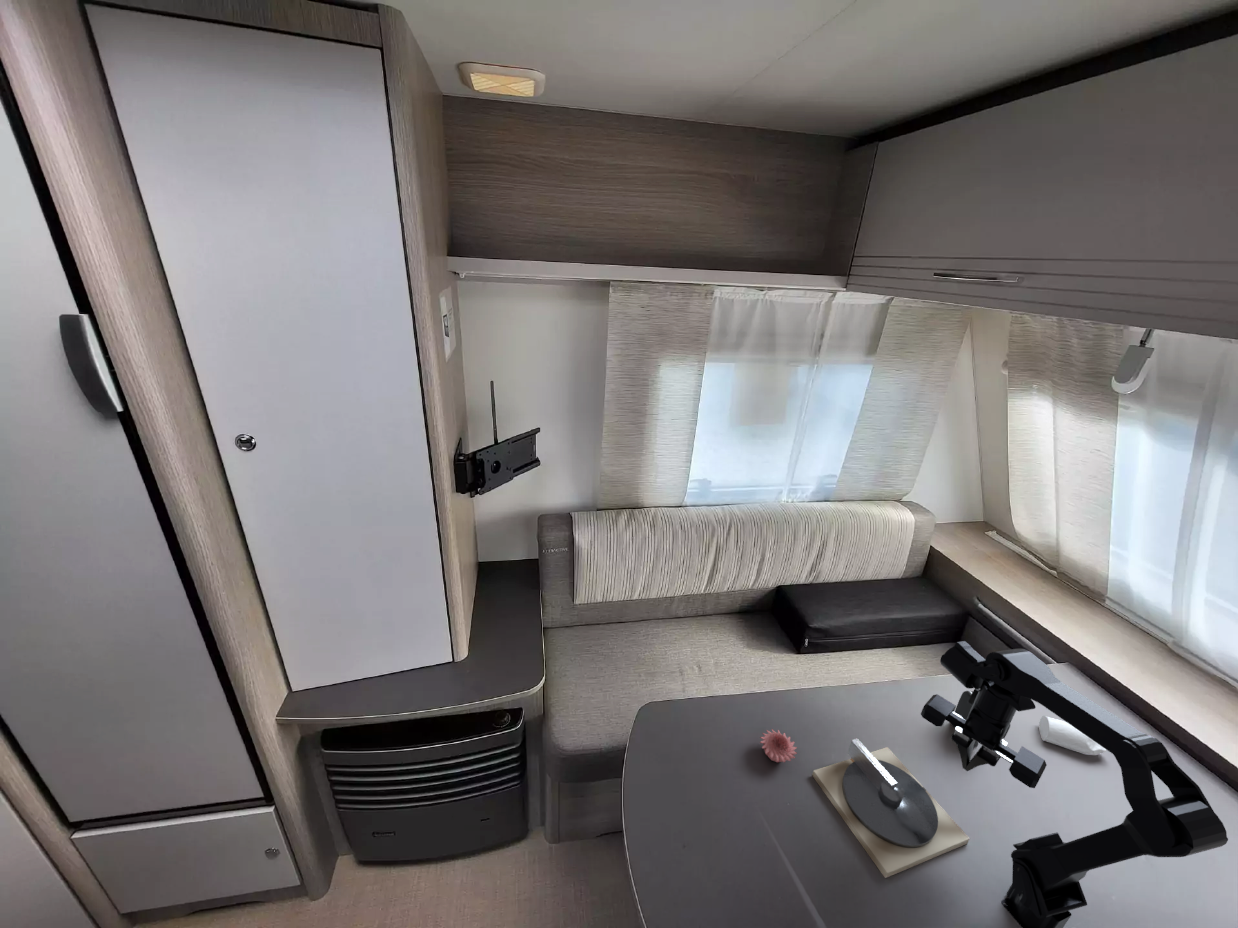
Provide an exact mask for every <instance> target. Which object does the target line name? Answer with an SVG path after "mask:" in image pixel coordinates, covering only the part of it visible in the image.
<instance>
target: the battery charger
mask: <svg viewBox="0 0 1238 928" xmlns="http://www.w3.org/2000/svg"><path fill="white" fill-rule="evenodd" d="M973 691H974V690H973ZM973 691H971V690H965V691H963V692H962V694H961V695H960V697H959V700H958V702H957V704H956V708H955V710H954V712H955V713H956V714H958V715H959V716H961V717H963V718H964V719H967V717H968V715H969V713H970V710H971V708H972V705H971V704H969V703H968V700H969V698H970V696H971V694H972V693H973ZM951 726H952V727H953V729H954V730H955V728H956V726H954V725H953V724H951ZM978 745H979V743H978V742H977V741H975V744H974V747H973V748H976V747H978Z"/></svg>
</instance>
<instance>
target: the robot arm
mask: <svg viewBox="0 0 1238 928" xmlns="http://www.w3.org/2000/svg"><path fill="white" fill-rule="evenodd" d="M939 662H940V665H941V666H942V667H943V668H945V670H946V671H948V672H949V674H951V675H952V676H953V677H954V678H955V679H956V680H957V681H958V682H959V683H961V685H963V687H965V688H966V689H968V690H969V689H971V690H972V689H973V693H972V694H971V696H970V698H969V700H968V703H969V704H971V705H972V708H971V710H970V713H969V715H968V717H967V719H964V718H963V717H961V716H959V715H958V714H956V713H955V710H956V707H957V704H956V705H955V704H954V703H953V702H950V701H949V700H948V699H945V698H944V697H943V696H941V695H939V694H937V693H936V694H933V695H931V697H930V698H929V699H928V700H927V701H926V703H925V704H924V705H923V707H922V709H921V712H920V715H921V718H922V719H924V720H926V721H927V722H928V723H931V724H932V725H933V726H935V727H942V726H944V723H945V721H946V722H948V723H949V724H951V725H952V724H953V725H954V726H956V728H955V729H954V732H953V733H952V735H951V736H950V739H951V741H953V742H954V743H955V744H956V747H957V749H958V750H957V751H959V756H960V760H961V765H962V769H963V770H965V771H966V772H969V771H971V770H973V769H975V768H977V767H979V766H985V765H989V766H990V767H996V766H997V764H998V762H999V761H1000V760H1001V758H1002V759H1003V760H1005V761H1006V762H1008V763H1009V764H1010V766H1009V768H1008V771H1009V773H1010V775H1011V776H1012V777H1013V778H1014V779H1016V780H1018V782H1020V783H1023V784H1024V785H1025V786H1026V787H1028V788H1031V789H1036V787H1037V785H1038V783H1039V781H1040V779H1042V776H1043V773H1044V772H1045V769H1046V768H1047V765H1048V764H1047V762H1046V760H1045V759H1044V758H1042V757H1041V756H1040V755H1038V754H1036V753H1034V752H1032V750H1029V749H1028V748H1026V747H1024V746H1023V745H1021V747H1020V749H1019V750H1018V752H1017V751H1015V750H1013V749H1012V748H1010V747H1008V742H1007V741H1005V740H1004V739H1005V738H1006V737H1007V735H1008V733H1009V730H1010V728H1011V723H1012V721H1013V719H1014V716H1015V714H1016V712H1017V711H1018V712H1023V711H1030V710H1035V709H1036V704H1035V703H1034V702H1036V703H1038V704H1039V705H1041V706H1043V707H1044V708H1045V709H1046V710H1048V711H1050V712H1051V713H1053V714H1054V715H1056V716H1057V717H1059V718H1060V720H1061V719H1062V721H1065V722H1067V723H1069V724H1070V725H1072V726H1073V727H1074V728H1076V729H1077V730H1079V731H1080V732H1082V733H1083V734H1085V735H1086V736H1087V737H1089V738H1090V739H1092V740H1093V741H1095V742H1096V743H1098V744H1099V745H1100V746H1102V747H1103V748H1105V749H1106V750H1107V752H1109V753H1110V754H1112V755H1113V756H1114V758H1115V760H1116V762H1117V764H1118V766H1119V767H1120V770H1121V776H1122V783H1123V790H1124V791H1123V792H1124V796H1125V798H1126V800H1127V802H1128V803H1129V806H1130V808H1131V809H1132V811H1131V812H1130V813H1128V814H1127V815H1125V817H1124V819H1123V821H1122V823H1121V824H1119V825H1115V826H1113V827H1112V826H1111V827H1110V828H1107V829H1103V830H1101V831H1098V832H1095V833H1092V834H1089V835H1085V836H1082V837H1080V838H1077V839H1074V840H1071V841H1068V842H1065V841H1063V840H1062V838H1061V836H1060V833H1059V832H1054V833H1049V834H1046V835H1045V834H1044V835H1041V836H1037V837H1033V838H1029V839H1027V840H1025V841H1022V842H1019V843H1014V844H1013V845H1012V846H1013V847H1014V848H1015V849H1014V850H1013V851H1012V852H1011V853H1010V858H1012V859H1011V860H1012V861H1011V862H1012V879H1011V884H1010V886H1009V888H1008V889H1007V891H1006V893H1005V894H1006V896H1007V897H1006V898H1004V899H1002V900H1001V905H1002V906H1003V908H1005V910H1006V911H1007V913H1009V914H1010V915H1011V916H1012V918H1013V919H1014V920H1015V921H1016V922H1017V923H1018V925H1019V926H1020V927H1021V928H1064V927H1065V926H1066V924H1067V922H1068V921H1069V919H1071V916H1072V912H1070V911H1072V910H1075V909H1079V908H1083V907H1086V906H1088V902H1087V899H1086V897H1085V894H1084V891H1083V888H1082V885H1081V883H1080V881H1081V880H1082V879H1084V878H1085V877H1086V876H1087V873H1088V872H1089V871H1092V870H1094V869H1099V868H1102V867H1105V866H1109V865H1113V864H1117V863H1120V862H1123V861H1128V860H1130V859H1135V858H1138V857H1142V856H1150V857H1156V858H1184V857H1188V856H1192V855H1195V854H1198V853H1202V852H1206V851H1210V850H1214V849H1217V848H1221V847H1223V846H1225V845H1226V844H1227V843H1228V841H1229V837H1228V836H1227V830H1226V827H1225V825H1224V823H1223V821H1222V820H1221V819H1220V817H1219V816H1218V815H1217V814H1216V813H1215V811H1214V809H1213V807H1212V806H1211V804H1210V802H1209V801H1208V799H1207V797H1206V795H1205V794H1204V793H1203V791H1202V789H1201V787H1200V786H1199V785H1198V784H1197V782H1195V781H1194V780H1193V779H1192V778H1191V777H1190V776H1189V775H1188V774H1187V773H1186V772H1185V771H1184V770H1183V769H1182V768H1181V767H1180V766H1179V765H1177V764H1176V763H1175V761H1174V760H1173V758H1172V756H1171V754H1170V752H1169V751H1168V750H1167V747H1165V745H1164V744H1163V742H1162V741H1160V740H1159V739H1158V738H1156V737H1154V736H1152V735H1151V734H1150V735H1149V734H1147V733H1144V732H1142V731H1140V730H1138V729H1137V728H1136V727H1135V726H1132V725H1131V724H1129V723H1127V722H1126V721H1124V720H1123V719H1121V718H1120V717H1119V716H1117V715H1115V714H1113V713H1112V712H1110V711H1109V710H1107V709H1105V708H1104V707H1102V706H1100V705H1099V704H1098V703H1096V702H1094V701H1092V700H1091V699H1090V698H1088V697H1087V696H1085V695H1083V694H1082V693H1080V692H1078V691H1077V690H1075V689H1074V688H1071V687H1070V686H1069V685H1067V684H1065V683H1064V682H1062V681H1061V680H1060V679H1059V678H1057V677H1056V676H1055V674H1054V673H1053V671H1052V669H1051V668H1050V667H1049V666H1048V665H1047V664H1046V663H1045V662H1044V661H1042V660H1041V659H1040V658H1039V657H1037V656H1036V655H1035V654H1034V653H1032V652H1031V651H1030V650H1028V649H1025V648H1020V647H1019V648H1013V649H1012V648H1011V649H1005V650H999V651H991V652H989V653H988V654H987V655H986V657H985V658H984V657H983V656H982V655H981V654H979V653H978V652H977V651H976V650H975V649H974V648H973V647H972V646H971V645H970V644H969V643H968V642H967V641H966V640H962V641H960V640H959V641H956V642H955V643H954V646H952V647H950V648H949V649H948V650H946V652H944V653H943V654H941V657H940V661H939ZM975 741H977V742H978V744H979V745H981V746H980V747H979V749H978V750H977V751H976V752H975V754H974V755H973V751H974V748H975V747H974V744H975ZM972 755H973V756H972ZM1152 773H1153V774H1154V775H1155V776H1156V777H1158V779H1159V780H1160V781H1161V782H1162V783H1163V784H1164V785H1165V786H1166V787H1167V788H1168V790H1169V791H1170V793H1171V795H1172V796H1170V797H1167V798H1163V799H1158V798H1157V795H1156V789H1155V784H1154V779H1153V774H1152ZM1004 903H1005V904H1006V905H1005V904H1004Z"/></svg>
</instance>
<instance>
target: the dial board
mask: <svg viewBox="0 0 1238 928" xmlns="http://www.w3.org/2000/svg"><path fill="white" fill-rule="evenodd" d="M869 752H870V753H871V754H872V755H873V756H874V757H875V758H876V759H877V760H881V761H884V762H887V763H890V764H892V765H894V766H896V767H898V768H900V769H901V770H903V771H905V772H906V773H907V774H909V775H910V776H911V777H912V778H914V779H915V780H916V781H917V782H918V783H919V784H920V785H921V786H922V787H923V789H924V790H925V791H926V792H927V794H928V795H929V797H930V798H931V800H932V802H933V804H934V806H935V809H936V811H937V816H938V828H937V831H936V833H935V835H934V837H933V839H932V840H931V841H930V842H929V843H928V844H926V845H925V846H922V847H918V848H905V847H900V846H896V845H894V844H891V843H889V842H886V841H884V840H882V839H881V838H879V837H878V836H876V835H875V834H873V833H872V832H870V831H869V830H868V829H867V828H866V827H865V826H864V825H863V824H862V823H861V822H860V821H859V820H858V819H857V818H856V817H855V815H854V814H853V813H852V811H851V810H850V808H849V806H848V804H847V802H846V800H845V797H844V794H843V789H842V781H843V777H844V774H845V771H846V769H847V767H848V766H849V765H850V764H851V763H853V762H854V761H853V760H852V758H851V757H850V758H849V759H846V760H843V761H839V762H837V763H833V764H830V765H827V766H824V767H820V768H816V769H814V770H812V771H813V772H812V775H811V776H812V777H813V779H814V780H815V782H816V783H817V785H818V786H819V787H820V789H821V790H822V792H823V793H824V794H825V796H826V797H827V799H828V801H830V803H831V804H832V805H833V807H834V809H835V810H836V811H837V813H838V814H839V815H840V817H841V818H842V820H843V821H844V823H845V824H846V825H847V827H848V828H849V829H850V831H851V832H852V833H853V835H854V836H855V839H857V840H858V842H859V843H860V845H861V846H862V847H863V849H864V850H865V851H866V853H867V855H868V856H869V857H870V859H871V860H872V861H873V864H874V865H875V866H876V867H877V869H878V870H879V872H880V873H881V875H882V876H883V877H884V879H887V878H889V877H892V876H895V875H896V874H898V873H901V872H903V871H906V870H908V869H911V868H913V867H915V866H918V865H921V864H923V863H924V862H927V861H930V860H932V859H935V858H937V857H939V856H942V855H943V854H945V853H946V854H947V853H948V852H951V851H953V850H955V849H958V848H961V847H962V846H965V845H967V844H968V843H969V841H970V839H971V838H970V837H969V835H967V834H966V832H965V831H963V829H962V828H961V827H960V826H959V825H958V823H956V821H955V820H954V819H953V818H952V817H951V816H950V814H948V812H947V811H946V810H945V809H944V808H943V807H942V806H941V805H940V804H939V803H938V802H937V800H936V799H935V798H934V797H933V796H932V795H931V793H930V792H929V791H928V790H927V789H926V788H925V787H924V786H923V784H922V783H921V782H920V781H919V780H918V779H917V778H916V777H915V776H914V775H913V774H912V773H911V771H910V770H909V769H907V767H906V766H905V765H904V763H903V762H902V761H901V760H900V759H899V758H898V757H897V756H896V755H895V753H893V751H892V750H891V749H890V748H889V747H888V746H886V747H883V748H880V749H877V750H874V751H869Z"/></svg>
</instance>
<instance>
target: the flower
mask: <svg viewBox="0 0 1238 928" xmlns="http://www.w3.org/2000/svg"><path fill="white" fill-rule="evenodd" d="M771 731H772V732H771ZM771 731H770V730H768V729H766V732H767V733H764V732H762V735H763V736H760V737H759V738H760V739H762V740H761V741H760V742H759V743H760V744H763V745H762V746H761V749H763V752H764V753H765V755H766V756H767V757H768V759H770V760H771V761H773V762H776V763H780V762H781V763H786V761H789V762H792V759H796V757H795V755H797V754H798V752H796V751H795V750H796V749H797V748H798V747H797V746H794V745H795V741H791V736H787V735H786V733H785V732H783V734H782V733H781V732H780V730H779V729H777V732H776V731H775V730H774V729H773V728H771Z"/></svg>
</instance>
